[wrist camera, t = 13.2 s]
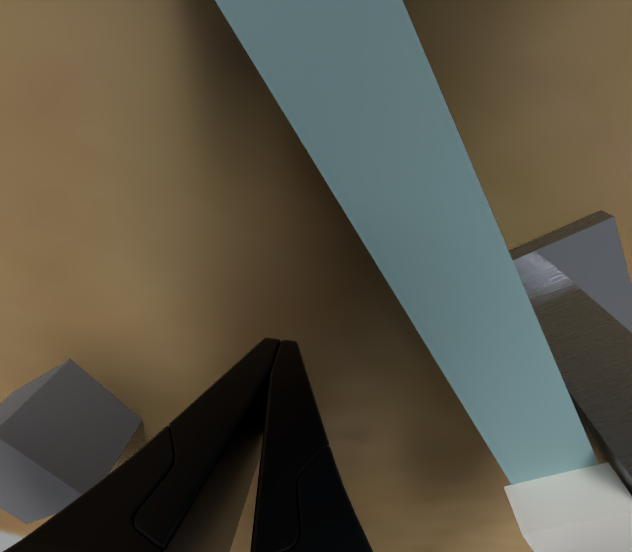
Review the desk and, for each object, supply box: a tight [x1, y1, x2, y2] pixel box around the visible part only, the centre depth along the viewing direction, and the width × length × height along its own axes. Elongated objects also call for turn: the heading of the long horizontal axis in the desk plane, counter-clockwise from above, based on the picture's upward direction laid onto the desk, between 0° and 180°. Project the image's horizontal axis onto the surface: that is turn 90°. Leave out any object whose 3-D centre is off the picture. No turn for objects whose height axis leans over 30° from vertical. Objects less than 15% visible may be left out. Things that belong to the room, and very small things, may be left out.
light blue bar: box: [215, 0, 632, 552], centre depth 7 cm, size 2×12×6 cm, turn 32°
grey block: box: [509, 211, 632, 496], centre depth 8 cm, size 3×4×6 cm
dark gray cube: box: [0, 359, 142, 524], centre depth 14 cm, size 4×4×4 cm
